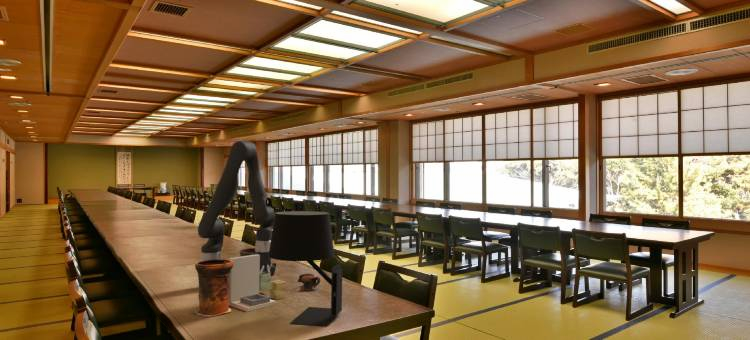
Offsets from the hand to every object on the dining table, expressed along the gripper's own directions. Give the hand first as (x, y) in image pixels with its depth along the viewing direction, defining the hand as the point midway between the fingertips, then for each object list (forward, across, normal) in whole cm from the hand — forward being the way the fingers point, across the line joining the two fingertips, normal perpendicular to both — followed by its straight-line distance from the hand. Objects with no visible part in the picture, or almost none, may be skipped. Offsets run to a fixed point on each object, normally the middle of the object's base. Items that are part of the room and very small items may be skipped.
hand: (262, 286), depth 207 cm
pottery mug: (+3, -21, +9) cm, 23 cm away
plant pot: (+4, -12, -22) cm, 26 cm away
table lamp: (+3, +9, +39) cm, 41 cm away
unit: (+3, +14, +12) cm, 19 cm away
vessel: (+3, +30, +9) cm, 32 cm away
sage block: (+1, 0, 0) cm, 1 cm away
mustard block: (+3, -1, +10) cm, 11 cm away
